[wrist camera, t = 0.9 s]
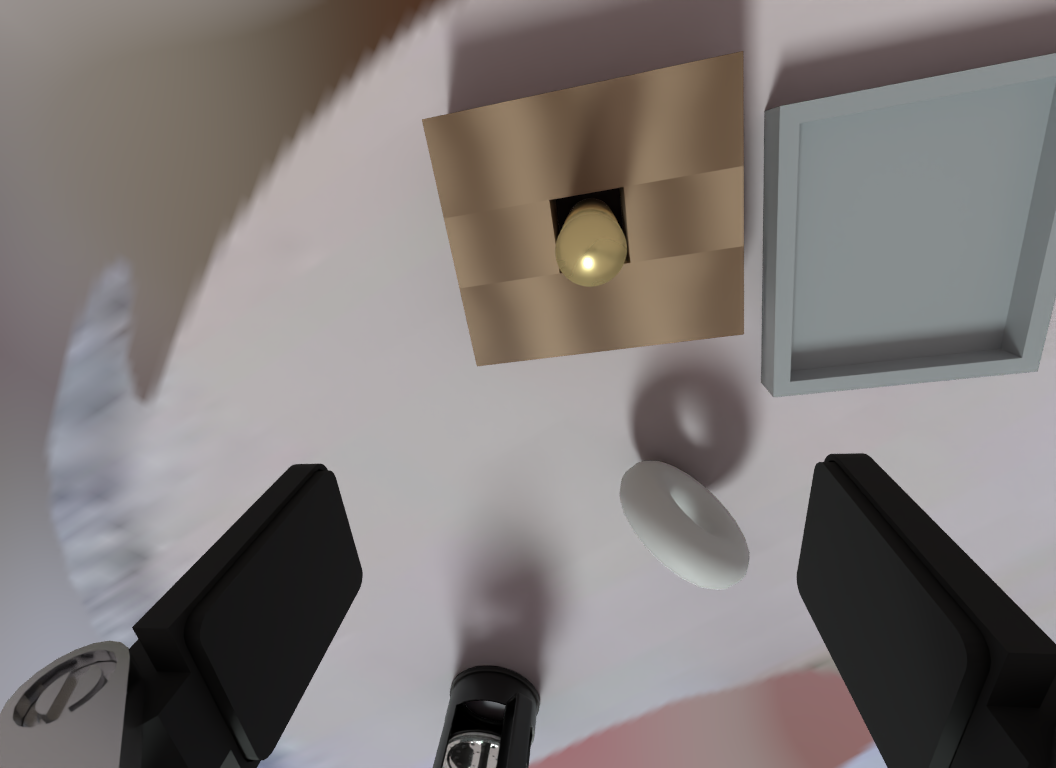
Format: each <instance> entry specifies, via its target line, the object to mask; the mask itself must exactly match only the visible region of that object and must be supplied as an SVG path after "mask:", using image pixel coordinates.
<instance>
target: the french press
mask: <svg viewBox="0 0 1056 768" xmlns="http://www.w3.org/2000/svg"><path fill="white" fill-rule="evenodd" d="M478 700H482V701H492V702H497V703H500V704H503V705H506V706H505V713H504V719H503V721H494V720H489V719H486V718H483V717H481V716H478V715H477V714H475V713H473V712H472V711H471V710H470V709H469V708H468V707H467V706H466V705H465V702H469V701H478ZM539 706H540V701H539V696H538V693H537V691H536V689H535V688H534V686H533V685H532V684H531V683H530V682H529V681H528V680H527V679H526V678H524V677H523V676H521V675H520V674H518V673H516V672H514V671H511V670H508V669H505V668H501V667H496V666H479V667H474V668H470V669H468V670H465V671H463V672H462V673H460V674H459V675H458V676H457V677H456V678H455V680H454V681H453V683H452V686H451V689H450V701H449V705H448V709H447V713H446V716H445V723H444V727H443V731H442V735H441V738H440V742H439V746H438V750H437V754H436V757H435V761H434V765H433V768H528V766H529V757H530V747H531V744H532V743H533V740H534V735H535V724H536V716H537V714H538V711H539Z"/></svg>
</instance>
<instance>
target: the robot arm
mask: <svg viewBox="0 0 1056 768" xmlns="http://www.w3.org/2000/svg"><path fill="white" fill-rule="evenodd" d="M361 583H362V568H361V564H360V561H359V557H358V554H357V550H356V547H355V543H354V540H353V536H352V533H351V529H350V526H349V522H348V519H347V515H346V512H345V508H344V505H343V501H342V498H341V494H340V491H339V487H338V484H337V480H336V477H335V475H334V473H333V472H332V471H328V470H327V468H326V467H325V466H324V465H323V464H295V465H292V466H291V467H290V468H288V470H287V471H286V472H285V473H284V474H283V475H282V476H281V477H280V478H279V479H278V480H277V481H276V482H275V483H274V484H273V485H272V486H271V487H270V488H269V489H268V490H267V491H266V492H265V493H264V494H263V495H262V496H261V497H260V498H259V499H258V500H257V501H256V502H255V503H254V504H253V505H252V506H251V507H250V508H249V509H248V510H247V511H246V512H245V513H244V514H243V515H242V516H241V517H240V518H239V519H238V520H237V521H236V522H235V523H234V524H233V525H232V526H231V527H230V528H229V529H228V530H227V532H226V533H225V534H224V535H223V536H222V537H221V538H220V539H219V540H218V541H217V542H216V543H215V544H214V545H213V546H212V547H211V548H210V549H209V550H208V551H207V552H206V553H205V554H204V555H203V556H202V557H201V558H200V559H199V560H198V561H197V562H196V563H195V564H194V565H193V566H192V567H191V568H190V569H189V570H188V571H187V572H186V573H185V574H184V575H183V576H182V577H181V578H180V579H179V580H178V581H177V582H176V583H175V584H174V585H173V586H172V587H171V588H170V589H169V590H168V591H167V592H166V594H165V595H164V596H163V597H162V598H161V599H160V600H159V601H158V602H157V603H156V604H155V605H154V606H153V607H152V608H151V609H150V610H149V611H148V612H147V613H146V614H145V615H144V616H143V617H142V618H141V619H140V620H139V621H138V622H137V623H136V624H135V625H134V626H133V627H132V628H133V630H134V632H135V633H136V635H137V637H138V640H137V641H136V642H135V643H134V644H133V645H132V646H131V648H130V649H129V648H128V647H126V646H125V645H124V644H123V643H121V642H115V641H105V642H99V643H93V644H90V645H87V646H85V647H82V648H79V649H76V650H74V651H72V652H70V653H68V654H66V655H64V656H62V657H60V658H58V659H56V660H55V661H53V662H52V663H50V664H49V665H47V666H46V667H45V668H43V669H41V670H40V671H38V672H37V673H36V674H35V675H33V676H32V677H31V678H30V679H29V680H27V681H26V682H25V683H24V684H23V685H22V686H20V687H19V689H18V690H17V691H16V692H15V693H14V694H13V695H12V697H11V698H10V699H9V700H8V701H7V702H6V704H5V706H4V708H3V709H2V711H1V713H0V768H257V766H258V765H259V763H260V761H261V760H265V759H266V758H268V757H269V755H270V754H271V753H272V752H273V750H274V748H275V747H276V745H277V743H278V741H279V739H280V737H281V735H282V733H283V732H284V730H285V728H286V726H287V724H288V722H289V720H290V718H291V717H292V715H293V713H294V711H295V709H296V707H297V705H298V703H299V702H300V700H301V698H302V696H303V694H304V692H305V690H306V688H307V687H308V685H309V683H310V681H311V679H312V677H313V675H314V673H315V672H316V670H317V668H318V666H319V664H320V662H321V660H322V658H323V657H324V655H325V653H326V651H327V649H328V647H329V645H330V643H331V642H332V640H333V638H334V636H335V634H336V632H337V630H338V628H339V627H340V625H341V623H342V621H343V619H344V617H345V615H346V613H347V612H348V610H349V608H350V606H351V604H352V602H353V600H354V598H355V597H356V595H357V593H358V591H359V589H360V587H361ZM797 585H798V589H799V593H800V595H801V597H802V599H803V601H804V603H805V605H806V607H807V609H808V611H809V613H810V615H811V617H812V619H813V621H814V623H815V625H816V627H817V629H818V631H819V633H820V635H821V637H822V639H823V641H824V643H825V645H826V647H827V649H828V651H829V653H830V655H831V657H832V659H833V661H834V663H835V665H836V667H837V669H838V670H839V672H840V674H841V676H842V678H843V680H844V682H845V684H846V686H847V688H848V690H849V692H850V694H851V696H852V698H853V700H854V702H855V704H856V706H857V708H858V710H859V712H860V714H861V716H862V718H863V720H864V722H865V724H866V726H867V728H868V730H869V732H870V734H871V736H872V738H873V740H874V742H875V744H876V746H877V747H878V749H879V751H880V753H881V755H882V757H883V759H884V761H885V763H886V765H887V767H888V768H1056V644H1055V643H1054V642H1053V641H1052V640H1051V639H1050V638H1049V637H1048V636H1047V635H1046V634H1045V633H1044V632H1043V631H1042V630H1041V629H1040V628H1039V627H1038V626H1037V625H1036V624H1035V623H1034V622H1033V621H1032V620H1031V619H1030V618H1029V617H1028V616H1027V615H1026V614H1025V613H1024V612H1023V611H1022V610H1021V609H1020V608H1019V606H1018V605H1017V604H1016V603H1015V602H1014V601H1013V600H1012V599H1011V598H1010V597H1009V596H1008V595H1007V594H1006V593H1005V592H1004V591H1003V590H1002V589H1001V588H1000V587H999V586H998V585H997V584H996V583H995V582H994V581H993V580H992V579H991V578H990V577H989V576H988V575H987V574H986V573H985V572H984V571H983V570H982V569H981V568H980V567H979V566H978V565H977V564H976V563H975V562H974V561H973V560H972V559H971V558H970V557H969V556H968V555H967V554H966V553H965V552H964V551H963V550H962V549H961V548H960V547H959V546H958V545H957V544H956V543H955V542H954V541H953V540H952V539H951V538H950V537H949V536H948V535H947V534H946V533H945V532H944V531H943V530H942V529H941V528H940V527H939V526H938V525H937V524H936V523H935V522H934V521H933V520H932V519H931V518H930V517H929V516H928V515H927V514H926V513H925V512H924V511H923V510H922V509H921V508H920V507H919V506H918V505H917V504H916V503H915V502H914V501H913V500H912V499H911V497H910V496H909V495H908V494H907V493H906V492H905V491H904V490H903V489H902V488H901V487H900V486H899V485H898V484H897V483H896V482H895V481H894V480H893V479H892V478H891V477H890V476H889V475H888V474H887V473H886V472H885V471H884V470H883V469H882V468H881V467H880V466H879V465H878V464H877V463H876V462H875V461H874V460H873V459H872V458H871V457H870V456H868V455H867V454H863V453H859V454H830V455H828V456H827V457H826V459H825V461H824V462H819V463H817V464H816V466H815V469H814V474H813V480H812V486H811V492H810V498H809V504H808V510H807V516H806V522H805V528H804V535H803V541H802V547H801V553H800V559H799V565H798V571H797Z"/></svg>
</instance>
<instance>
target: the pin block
mask: <svg viewBox="0 0 1056 768" xmlns="http://www.w3.org/2000/svg"><path fill="white" fill-rule="evenodd" d="M422 122H423V127H424V131H425V136H426V140H427V144H428V149H429V153H430V158H431V162H432V167H433V171H434V176H435V180H436V185H437V189H438V194H439V198H440V203H441V207H442V212H443V216H444V221H445V225H446V230H447V234H448V239H449V243H450V248H451V252H452V257H453V261H454V266H455V270H456V274H457V279H458V283H459V288H460V292H461V297H462V301H463V306H464V310H465V315H466V319H467V324H468V328H469V333H470V337H471V342H472V346H473V351H474V355H475V360H476V364H477V366H483V365H492V364H500V363H508V362H517V361H525V360H533V359H542V358H550V357H558V356H567V355H575V354H583V353H592V352H600V351H609V350H617V349H625V348H634V347H642V346H650V345H659V344H667V343H675V342H684V341H692V340H700V339H709V338H717V337H725V336H734V335H742V334H744V135H743V51H741V52H736V53H732V54H727V55H722V56H718V57H713V58H708V59H704V60H699V61H694V62H689V63H685V64H680V65H675V66H671V67H666V68H661V69H657V70H652V71H647V72H643V73H638V74H633V75H628V76H624V77H619V78H614V79H610V80H605V81H600V82H596V83H591V84H586V85H582V86H577V87H572V88H568V89H563V90H558V91H553V92H549V93H544V94H539V95H535V96H530V97H525V98H521V99H516V100H511V101H507V102H502V103H497V104H492V105H488V106H483V107H478V108H474V109H469V110H464V111H460V112H455V113H450V114H446V115H441V116H436V117H431V118H427V119H422ZM615 188H619V192H620V203H621V214H622V225H623V234H624V236H625V239H626V243H627V255H626V259H625V262H624V265H623V267H622V268H621V270H620V271H619V273H618V274H617V275H616V276H615V277H614V278H613V279H611V280H610V281H608V282H606V283H604V284H602V285H599V286H592V287H587V286H581V285H578V284H575V283H573V282H572V281H570V280H569V279H568V278H566V277H565V276H564V274H563V273H562V272H561V270H560V269H559V267H558V264H557V261H556V256H555V247H556V242H557V238H558V236H559V234H560V227H559V220H558V213H557V206H556V199H558V198H563V197H569V196H575V195H581V194H586V193H592V192H598V191H603V190H609V189H615Z"/></svg>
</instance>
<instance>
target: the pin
mask: <svg viewBox="0 0 1056 768" xmlns="http://www.w3.org/2000/svg"><path fill="white" fill-rule="evenodd" d="M626 255H627V243H626V239H625V236H624V234H623V231H622V230H621V228H620V226H619V224H618V222H617V220H616V218H615V216H614V214H613V212H612V211H611V209H610V207H609V206H608V205H607V204H606V203H605V202H603V201H602V200H599V199H596V198H587V199H583V200H581V201H579V202H578V203H576V204H575V205H574V206H573V208H572V209H571V211H570V212H569V215H568V217H567V219H566V221H565V223H564V225H563V227H562V230H561V232H560V234H559V236H558V238H557V242H556V247H555V256H556V261H557V264H558V267H559V269H560V270H561V272H562V273H563V274H564V276H565V277H566V278H568V279H569V280H570V281H572V282H573V283H575V284H578V285H581V286H587V287H592V286H599V285H602V284H604V283H606V282H608V281H610V280H611V279H613V278H614V277H615V276H616V275H617V274H618V273H619V271H620V270H621V268H622V267H623V265H624V262H625V259H626Z"/></svg>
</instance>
